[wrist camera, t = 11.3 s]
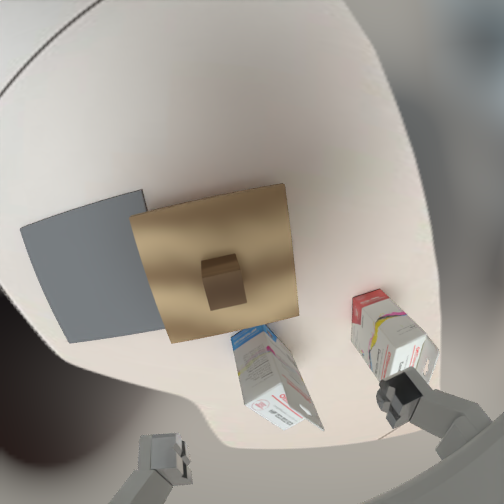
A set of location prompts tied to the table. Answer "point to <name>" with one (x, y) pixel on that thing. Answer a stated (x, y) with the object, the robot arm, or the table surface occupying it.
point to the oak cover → (219, 262)
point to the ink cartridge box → (390, 337)
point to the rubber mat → (94, 270)
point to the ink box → (271, 379)
